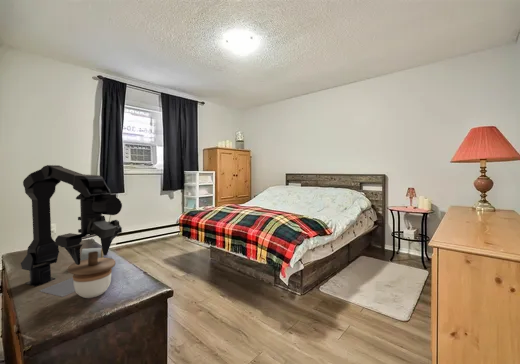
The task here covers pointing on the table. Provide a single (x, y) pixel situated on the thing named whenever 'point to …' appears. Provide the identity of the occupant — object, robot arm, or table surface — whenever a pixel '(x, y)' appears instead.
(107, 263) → the lid
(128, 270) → the table surface
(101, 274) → the lidded jar
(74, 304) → the table surface
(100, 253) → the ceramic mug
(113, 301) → the table surface
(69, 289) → the mat
